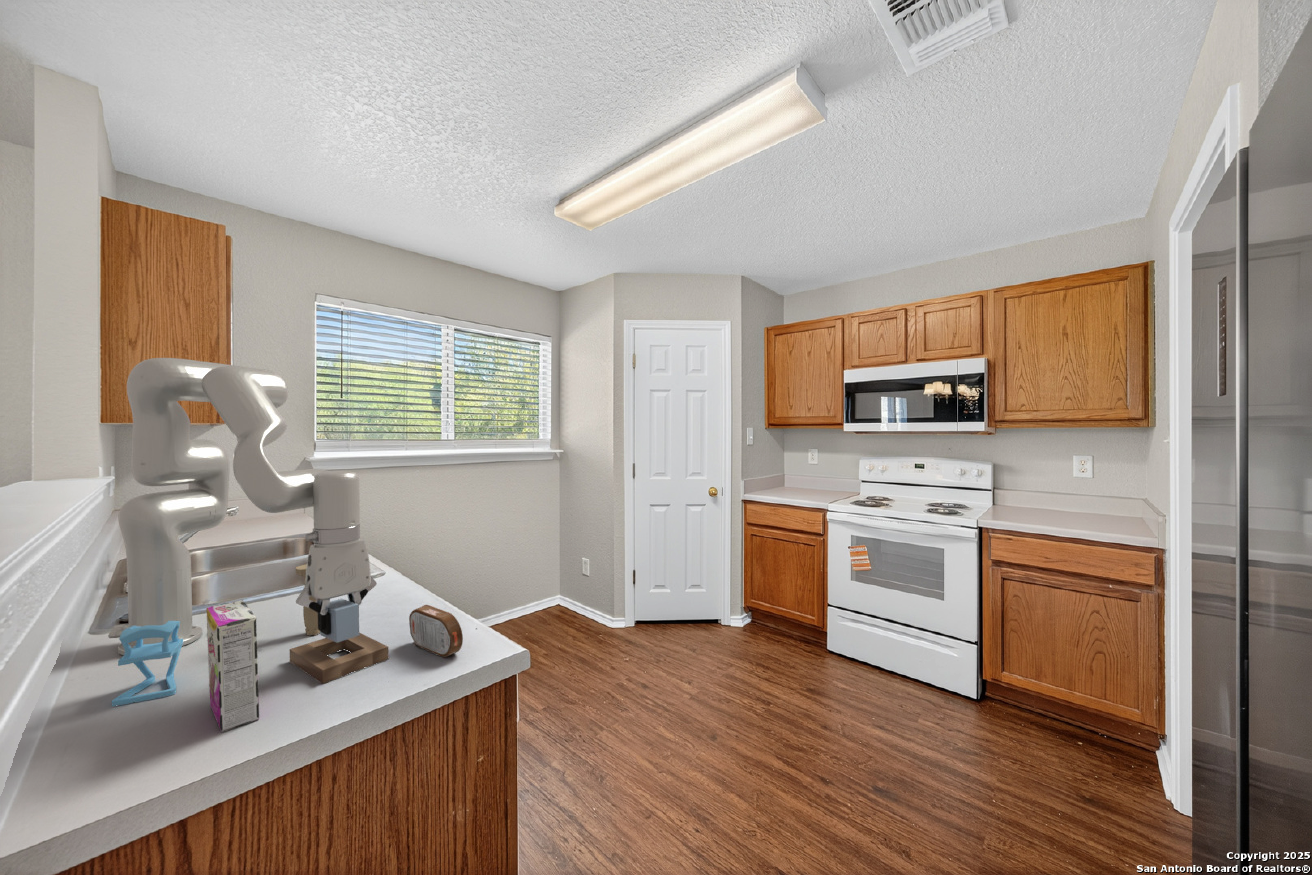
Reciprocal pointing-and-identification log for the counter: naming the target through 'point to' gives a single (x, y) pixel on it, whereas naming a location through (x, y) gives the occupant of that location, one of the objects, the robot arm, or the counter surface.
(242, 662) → the candy bar box
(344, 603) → the blue peg
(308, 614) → the handle
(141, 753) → the counter surface
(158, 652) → the chair
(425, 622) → the tin
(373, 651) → the socket block
